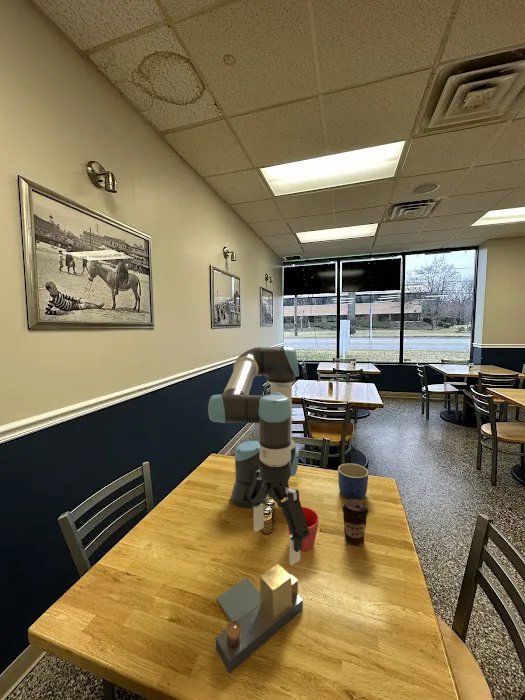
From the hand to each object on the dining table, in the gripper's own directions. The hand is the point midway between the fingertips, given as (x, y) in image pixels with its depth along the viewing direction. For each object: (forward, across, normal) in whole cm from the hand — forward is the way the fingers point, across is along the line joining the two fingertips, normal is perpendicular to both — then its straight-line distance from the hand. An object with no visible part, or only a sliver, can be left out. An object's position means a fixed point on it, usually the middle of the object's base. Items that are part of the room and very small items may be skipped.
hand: (275, 544), depth 71 cm
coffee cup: (+20, -3, +38) cm, 43 cm away
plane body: (+20, 0, -4) cm, 20 cm away
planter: (+19, -20, +61) cm, 67 cm away
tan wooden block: (+17, 0, 0) cm, 17 cm away
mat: (+20, -9, -4) cm, 22 cm away
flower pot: (+20, -14, +24) cm, 34 cm away
